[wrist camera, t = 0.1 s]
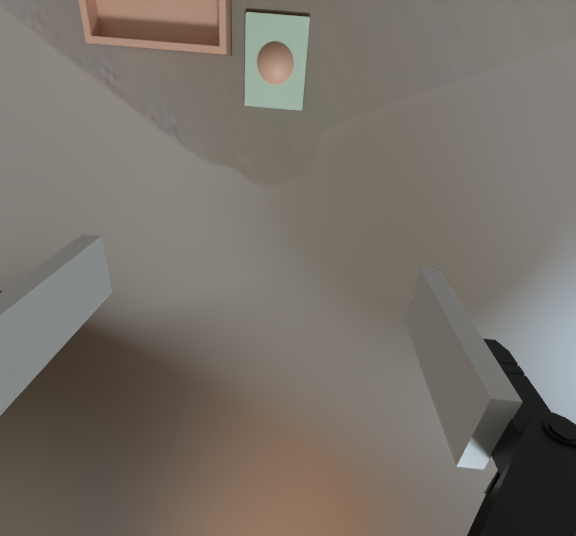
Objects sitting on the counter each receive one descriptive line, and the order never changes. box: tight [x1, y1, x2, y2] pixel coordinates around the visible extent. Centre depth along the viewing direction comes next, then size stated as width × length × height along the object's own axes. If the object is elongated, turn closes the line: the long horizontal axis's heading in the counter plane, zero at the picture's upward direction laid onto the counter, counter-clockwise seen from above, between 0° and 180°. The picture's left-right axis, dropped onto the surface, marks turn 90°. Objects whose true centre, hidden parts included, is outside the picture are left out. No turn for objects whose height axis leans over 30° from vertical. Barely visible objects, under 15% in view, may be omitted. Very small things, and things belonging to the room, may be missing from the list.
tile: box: [245, 12, 310, 110], centre depth 35 cm, size 8×6×1 cm
